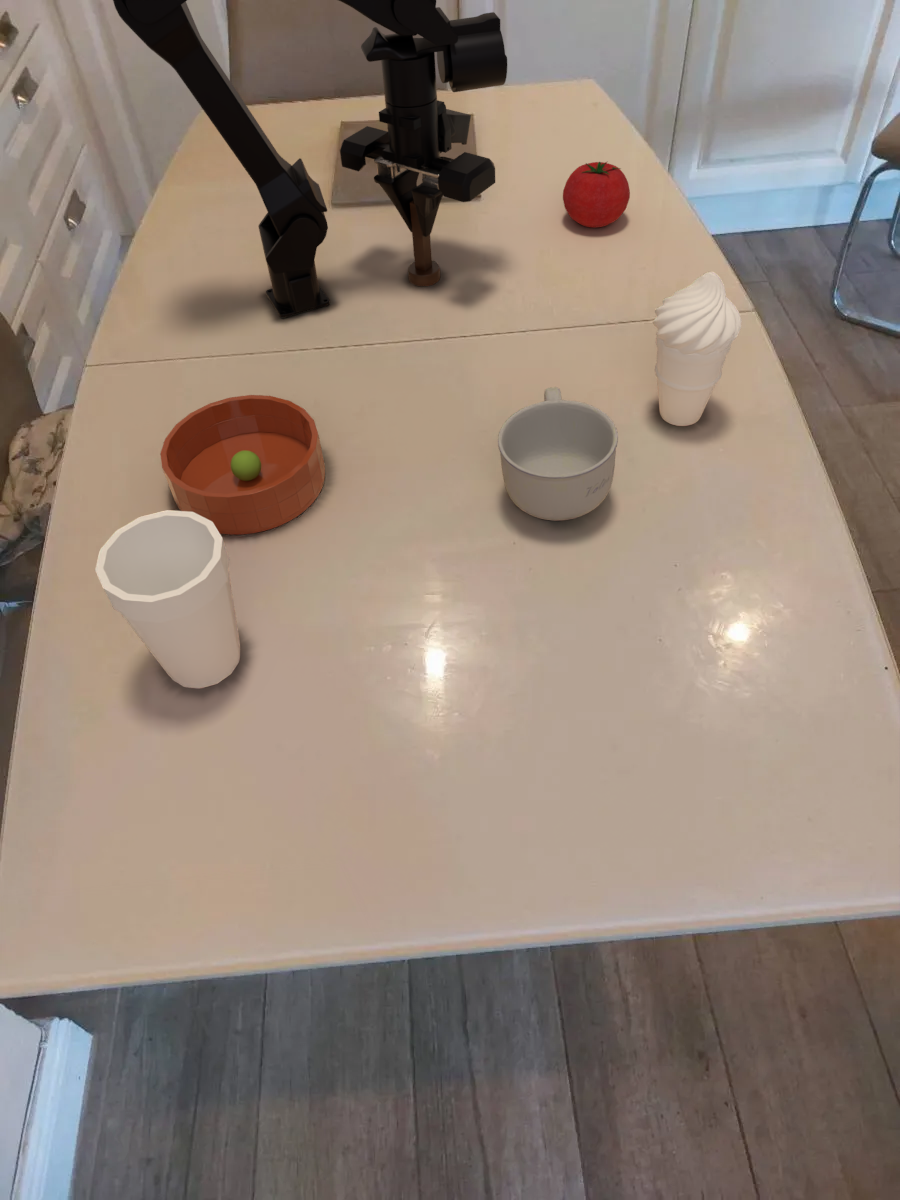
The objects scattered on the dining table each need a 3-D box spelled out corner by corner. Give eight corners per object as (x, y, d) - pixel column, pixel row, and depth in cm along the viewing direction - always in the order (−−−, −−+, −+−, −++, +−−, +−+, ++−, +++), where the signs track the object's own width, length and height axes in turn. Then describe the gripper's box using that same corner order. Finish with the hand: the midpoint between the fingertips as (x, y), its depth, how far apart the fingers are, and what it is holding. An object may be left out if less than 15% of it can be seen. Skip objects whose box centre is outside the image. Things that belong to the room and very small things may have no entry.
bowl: (159, 460, 95) (145, 422, 91) (298, 417, 99) (290, 378, 95) (195, 555, 86) (180, 517, 82) (346, 503, 89) (339, 464, 86)
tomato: (637, 214, 124) (644, 154, 118) (609, 243, 119) (614, 183, 113) (580, 200, 127) (583, 141, 121) (549, 228, 123) (552, 168, 116)
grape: (230, 472, 92) (223, 449, 90) (259, 463, 93) (253, 440, 91) (238, 490, 91) (232, 467, 88) (267, 481, 91) (261, 458, 89)
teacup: (605, 543, 84) (612, 479, 78) (489, 530, 86) (488, 466, 80) (617, 446, 93) (625, 381, 87) (513, 437, 95) (513, 372, 89)
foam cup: (156, 620, 81) (107, 515, 71) (260, 610, 81) (226, 504, 71) (142, 709, 75) (86, 608, 65) (254, 698, 75) (216, 595, 65)
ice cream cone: (671, 449, 92) (696, 308, 80) (624, 405, 97) (640, 266, 85) (737, 422, 95) (771, 281, 82) (687, 380, 100) (713, 242, 87)
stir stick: (402, 281, 116) (395, 204, 108) (421, 266, 118) (415, 190, 110) (427, 289, 114) (422, 212, 106) (446, 275, 116) (442, 198, 109)
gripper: (522, 87, 100) (520, 224, 112) (389, 57, 107) (400, 188, 119) (464, 125, 94) (469, 265, 106) (328, 91, 102) (346, 225, 114)
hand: (421, 233), depth 111 cm, fingers closed on stir stick, 2 cm apart
